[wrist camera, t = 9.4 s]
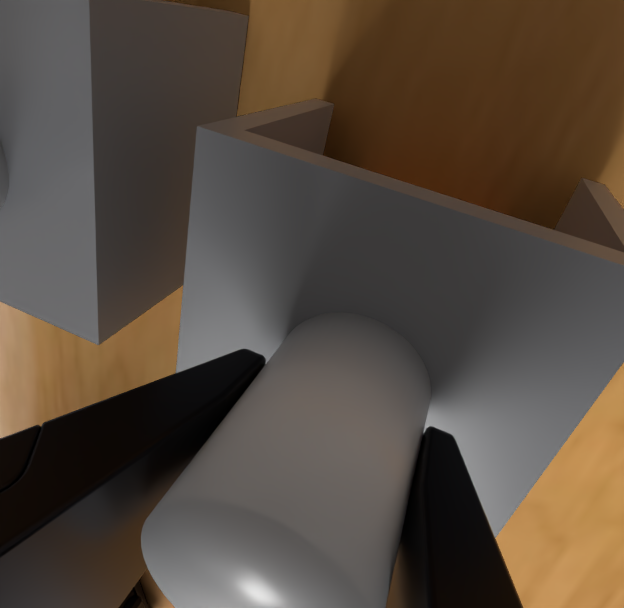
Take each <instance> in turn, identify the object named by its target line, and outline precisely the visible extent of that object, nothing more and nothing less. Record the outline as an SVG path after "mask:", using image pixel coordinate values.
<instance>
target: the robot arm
mask: <svg viewBox="0 0 624 608" xmlns="http://www.w3.org/2000/svg"><path fill="white" fill-rule="evenodd" d="M265 365H266V359H265V357H264V356H263V355H261V354H258V353H256V352H254V351H251V350H249V349H245V348H244V349H240V350H237V351H234V352H232V353H229V354H226V355H223V356H221V357H218V358H215V359H213V360H210V361H207V362H205V363H202V364H199V365H197V366H194V367H191V368H189V369H186V370H183V371H181V372H178V373H175V374H173V375H170V376H167V377H165V378H162V379H159V380H157V381H154V382H151V383H148V384H146V385H143V386H140V387H138V388H135V389H132V390H130V391H127V392H124V393H122V394H119V395H116V396H114V397H111V398H108V399H106V400H103V401H100V402H98V403H95V404H92V405H90V406H87V407H84V408H82V409H79V410H76V411H73V412H71V413H68V414H65V415H63V416H60V417H57V418H55V419H52V420H49V421H47V422H44V423H43V424H42V426H39V425H35V426H33V427H30V428H27V429H25V430H22V431H19V432H17V433H14V434H11V435H9V436H6V437H3V438H0V608H148V605H147V602H146V599H145V596H144V593H143V591H142V588H141V585H140V582H139V579H140V578H141V576H142V575H143V573H144V572H145V571H146V569H147V565H146V562H145V560H144V557H143V553H142V548H141V532H142V528H143V525H144V522H145V520H146V519H147V517H148V516H149V515H150V513H151V512H152V511H153V509H154V508H155V507H156V506H157V504H158V503H159V502H160V500H161V499H162V498H163V497H164V495H165V494H166V493H167V491H168V490H169V489H170V487H171V486H172V485H173V484H174V482H175V481H176V480H177V478H178V477H179V476H180V475H181V473H182V472H183V471H184V469H185V468H186V467H187V465H188V464H189V463H190V462H191V460H192V459H193V458H194V456H195V455H196V454H197V453H198V451H199V450H200V449H201V447H202V446H203V445H204V444H205V442H206V441H207V440H208V438H209V437H210V436H211V434H212V433H213V432H214V431H215V429H216V428H217V427H218V425H219V424H220V423H221V422H222V420H223V419H224V418H225V416H226V415H227V414H228V412H229V411H230V410H231V409H232V407H233V406H234V405H235V403H236V402H237V401H238V400H239V398H240V397H241V396H242V394H243V393H244V392H245V390H246V389H247V388H248V387H249V385H250V384H251V383H252V381H253V380H254V379H255V378H256V376H257V375H258V374H259V372H260V371H261V370H262V369H263V367H264V366H265ZM386 608H523V606H522V604H521V601H520V599H519V596H518V594H517V591H516V589H515V586H514V584H513V581H512V579H511V576H510V574H509V571H508V569H507V566H506V564H505V561H504V559H503V556H502V554H501V551H500V549H499V546H498V544H497V541H496V539H495V537H494V534H493V532H492V529H491V527H490V524H489V522H488V519H487V517H486V514H485V512H484V509H483V507H482V504H481V502H480V499H479V497H478V494H477V492H476V489H475V487H474V484H473V482H472V479H471V477H470V474H469V472H468V469H467V467H466V464H465V462H464V459H463V457H462V454H461V452H460V449H459V447H458V445H457V442H456V440H455V438H454V436H453V435H451V434H450V433H447V432H445V431H442V430H440V429H438V428H435V427H433V426H429V427H428V428H426V430H425V432H424V434H423V437H422V441H421V446H420V451H419V455H418V460H417V465H416V469H415V474H414V478H413V483H412V488H411V492H410V497H409V502H408V506H407V511H406V516H405V520H404V525H403V530H402V534H401V539H400V543H399V548H398V553H397V557H396V562H395V567H394V571H393V576H392V580H391V585H390V590H389V594H388V599H387V604H386Z"/></svg>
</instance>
